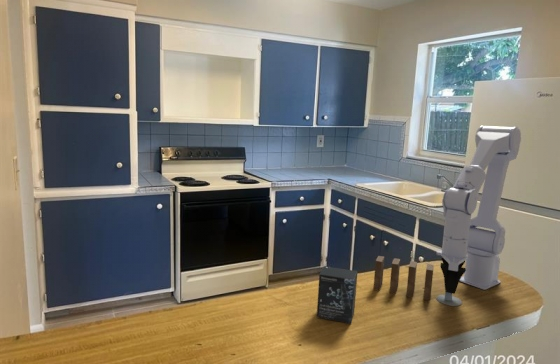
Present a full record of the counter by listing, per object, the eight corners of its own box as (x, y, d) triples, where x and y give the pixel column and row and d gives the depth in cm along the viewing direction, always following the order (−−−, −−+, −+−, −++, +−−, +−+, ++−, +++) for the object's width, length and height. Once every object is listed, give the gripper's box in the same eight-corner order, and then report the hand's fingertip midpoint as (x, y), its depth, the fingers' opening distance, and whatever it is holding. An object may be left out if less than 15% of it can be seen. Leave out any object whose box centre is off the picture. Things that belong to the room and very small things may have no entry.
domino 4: (430, 293, 105) (433, 264, 104) (430, 300, 101) (432, 270, 100) (424, 292, 106) (427, 263, 105) (423, 299, 102) (426, 269, 101)
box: (316, 318, 90) (318, 273, 89) (321, 307, 96) (323, 265, 94) (351, 325, 88) (354, 279, 86) (354, 313, 93) (357, 270, 92)
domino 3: (414, 290, 107) (417, 262, 106) (412, 297, 103) (415, 267, 102) (408, 289, 108) (410, 261, 106) (406, 295, 104) (408, 266, 102)
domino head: (452, 293, 103) (455, 264, 102) (451, 300, 99) (454, 269, 98) (445, 292, 104) (448, 263, 103) (444, 299, 100) (447, 268, 99)
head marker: (461, 298, 103) (461, 297, 103) (462, 308, 98) (462, 307, 98) (436, 293, 106) (436, 292, 106) (435, 302, 100) (435, 302, 100)
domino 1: (382, 284, 110) (384, 256, 109) (379, 290, 106) (381, 261, 105) (376, 283, 111) (378, 255, 110) (373, 289, 107) (375, 260, 106)
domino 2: (397, 287, 109) (400, 259, 107) (395, 293, 105) (398, 264, 103) (391, 286, 109) (394, 258, 108) (389, 292, 105) (391, 263, 104)
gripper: (439, 227, 107) (434, 275, 109) (437, 242, 94) (431, 296, 96) (468, 231, 104) (463, 280, 107) (470, 246, 91) (464, 302, 93)
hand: (450, 288), depth 101 cm, fingers closed on domino head, 4 cm apart
